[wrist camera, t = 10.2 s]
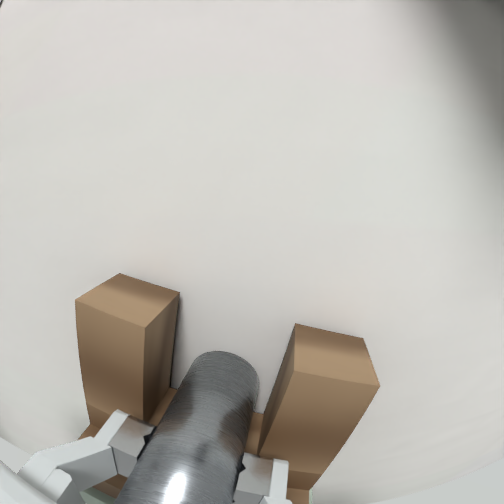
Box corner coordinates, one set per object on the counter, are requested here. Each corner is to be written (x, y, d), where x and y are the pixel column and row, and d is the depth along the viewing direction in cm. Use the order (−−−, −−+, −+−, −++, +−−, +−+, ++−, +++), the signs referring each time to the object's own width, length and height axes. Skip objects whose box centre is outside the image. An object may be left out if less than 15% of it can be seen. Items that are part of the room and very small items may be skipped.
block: (119, 273, 11) (24, 331, 6) (363, 338, 11) (398, 445, 5) (120, 406, 14) (70, 474, 8) (300, 459, 13) (294, 545, 7)
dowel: (193, 342, 12) (93, 505, 4) (266, 361, 11) (224, 552, 4) (187, 394, 12) (113, 537, 5) (251, 411, 12) (211, 570, 4)
